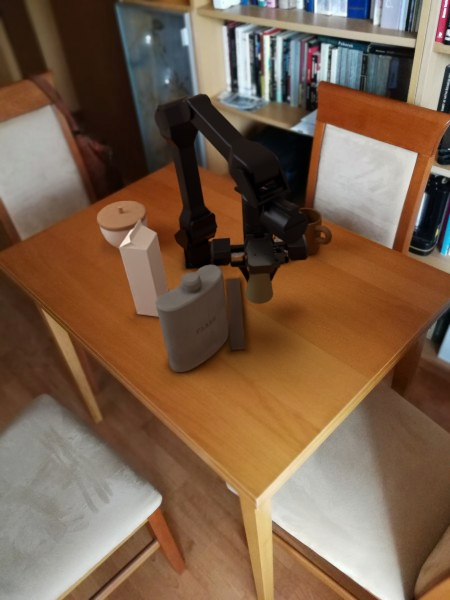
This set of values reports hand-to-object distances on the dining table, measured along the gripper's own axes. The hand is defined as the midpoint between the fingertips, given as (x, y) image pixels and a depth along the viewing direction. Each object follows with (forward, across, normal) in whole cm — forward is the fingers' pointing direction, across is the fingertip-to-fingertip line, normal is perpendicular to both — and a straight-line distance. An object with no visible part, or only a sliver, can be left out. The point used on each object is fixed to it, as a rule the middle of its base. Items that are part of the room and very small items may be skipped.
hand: (259, 281), depth 99 cm
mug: (+9, +14, +20) cm, 26 cm away
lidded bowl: (+9, -33, +30) cm, 45 cm away
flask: (+9, -13, -10) cm, 19 cm away
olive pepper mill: (+4, 0, 0) cm, 4 cm away
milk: (+9, -24, +4) cm, 26 cm away
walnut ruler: (+9, -5, 0) cm, 10 cm away
